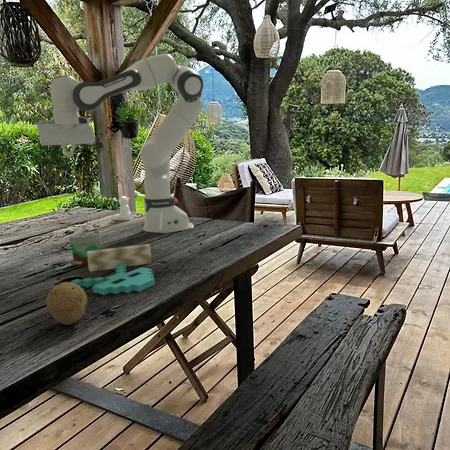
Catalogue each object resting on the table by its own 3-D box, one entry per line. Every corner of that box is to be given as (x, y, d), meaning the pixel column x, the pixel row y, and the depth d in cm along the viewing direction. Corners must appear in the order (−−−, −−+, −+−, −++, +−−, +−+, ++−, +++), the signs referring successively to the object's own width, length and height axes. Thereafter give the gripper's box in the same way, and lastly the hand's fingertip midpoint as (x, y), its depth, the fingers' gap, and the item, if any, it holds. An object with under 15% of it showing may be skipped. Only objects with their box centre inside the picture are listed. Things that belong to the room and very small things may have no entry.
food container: (84, 269, 147) (82, 239, 145) (71, 267, 150) (68, 237, 148) (111, 259, 158) (108, 231, 156) (97, 257, 161) (95, 229, 158)
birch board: (149, 260, 155) (148, 243, 154) (151, 263, 152) (150, 245, 151) (88, 269, 147) (87, 251, 146) (90, 271, 144) (88, 253, 143)
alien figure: (71, 288, 131) (122, 301, 121) (70, 281, 130) (121, 293, 120) (121, 269, 148) (169, 279, 137) (120, 263, 147) (169, 272, 137)
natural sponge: (59, 314, 111) (55, 276, 109) (95, 315, 111) (91, 276, 108) (42, 331, 103) (37, 289, 100) (80, 332, 102) (76, 289, 100)
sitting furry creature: (128, 217, 232) (127, 193, 230) (137, 219, 226) (136, 195, 224) (112, 219, 226) (110, 196, 224) (121, 222, 220) (119, 197, 217)
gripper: (36, 120, 167) (40, 158, 170) (93, 119, 175) (96, 155, 178) (36, 120, 173) (40, 157, 176) (91, 119, 181) (94, 154, 184)
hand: (69, 156), depth 177 cm, fingers closed
